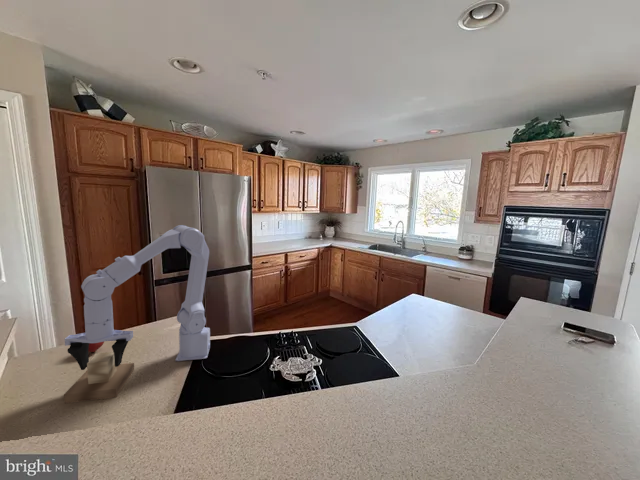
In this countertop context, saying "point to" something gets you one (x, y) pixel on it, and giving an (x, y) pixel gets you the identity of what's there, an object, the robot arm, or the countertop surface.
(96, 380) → the beech block
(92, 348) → the onion
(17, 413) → the countertop surface
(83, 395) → the walnut block
